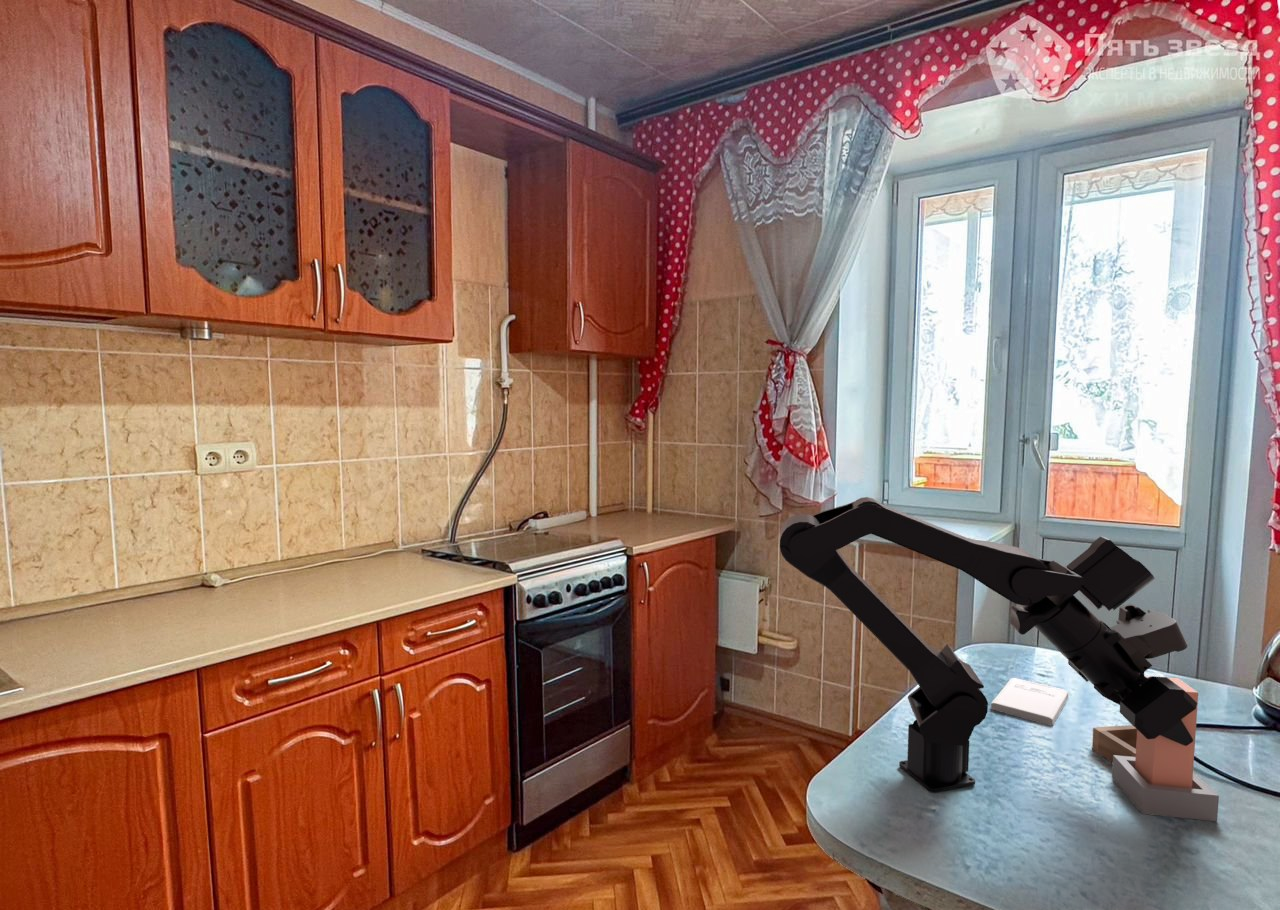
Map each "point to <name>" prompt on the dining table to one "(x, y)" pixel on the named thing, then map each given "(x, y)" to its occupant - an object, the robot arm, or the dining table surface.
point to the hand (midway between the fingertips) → (1178, 734)
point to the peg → (1168, 753)
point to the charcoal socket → (1165, 794)
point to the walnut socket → (1115, 741)
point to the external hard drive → (1030, 701)
